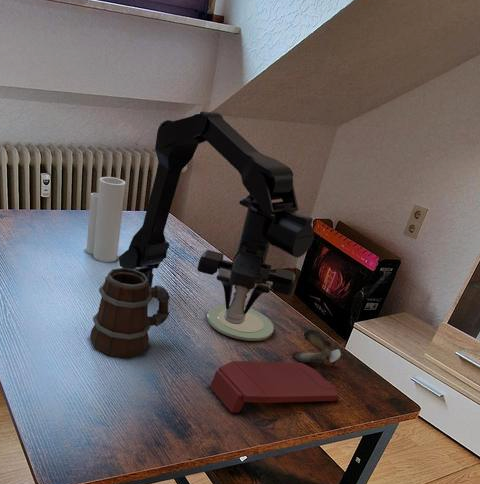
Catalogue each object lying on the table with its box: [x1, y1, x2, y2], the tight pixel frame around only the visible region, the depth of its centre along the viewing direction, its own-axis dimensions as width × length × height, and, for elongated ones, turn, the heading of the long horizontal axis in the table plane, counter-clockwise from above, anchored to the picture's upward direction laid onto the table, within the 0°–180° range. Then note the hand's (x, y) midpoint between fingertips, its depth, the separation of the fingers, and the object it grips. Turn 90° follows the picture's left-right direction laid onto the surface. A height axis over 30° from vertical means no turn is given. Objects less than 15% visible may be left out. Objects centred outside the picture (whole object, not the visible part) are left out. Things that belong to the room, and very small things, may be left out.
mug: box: [89, 267, 171, 359], centre depth 108 cm, size 16×12×15 cm
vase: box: [85, 176, 126, 263], centre depth 142 cm, size 11×7×20 cm, turn 30°
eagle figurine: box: [294, 328, 345, 368], centre depth 117 cm, size 8×7×9 cm
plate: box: [206, 304, 275, 342], centre depth 127 cm, size 16×16×1 cm
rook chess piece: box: [224, 285, 251, 324], centre depth 109 cm, size 4×4×8 cm
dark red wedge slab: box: [209, 360, 339, 413], centre depth 106 cm, size 12×5×25 cm
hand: (236, 310), depth 110 cm, fingers closed on rook chess piece, 3 cm apart
